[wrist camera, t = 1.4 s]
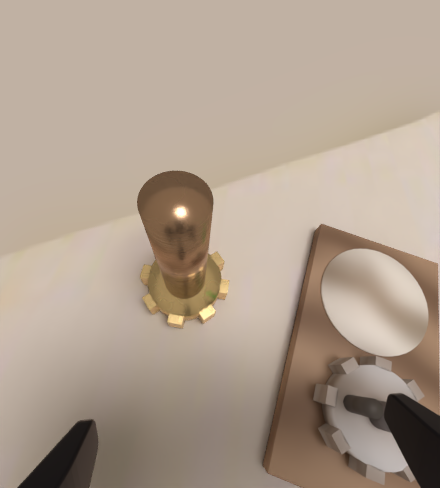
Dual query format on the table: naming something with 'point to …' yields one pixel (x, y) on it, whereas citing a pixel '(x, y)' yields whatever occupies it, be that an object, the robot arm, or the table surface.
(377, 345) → the gear board
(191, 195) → the brass gear
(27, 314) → the table surface
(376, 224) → the table surface
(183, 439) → the table surface
